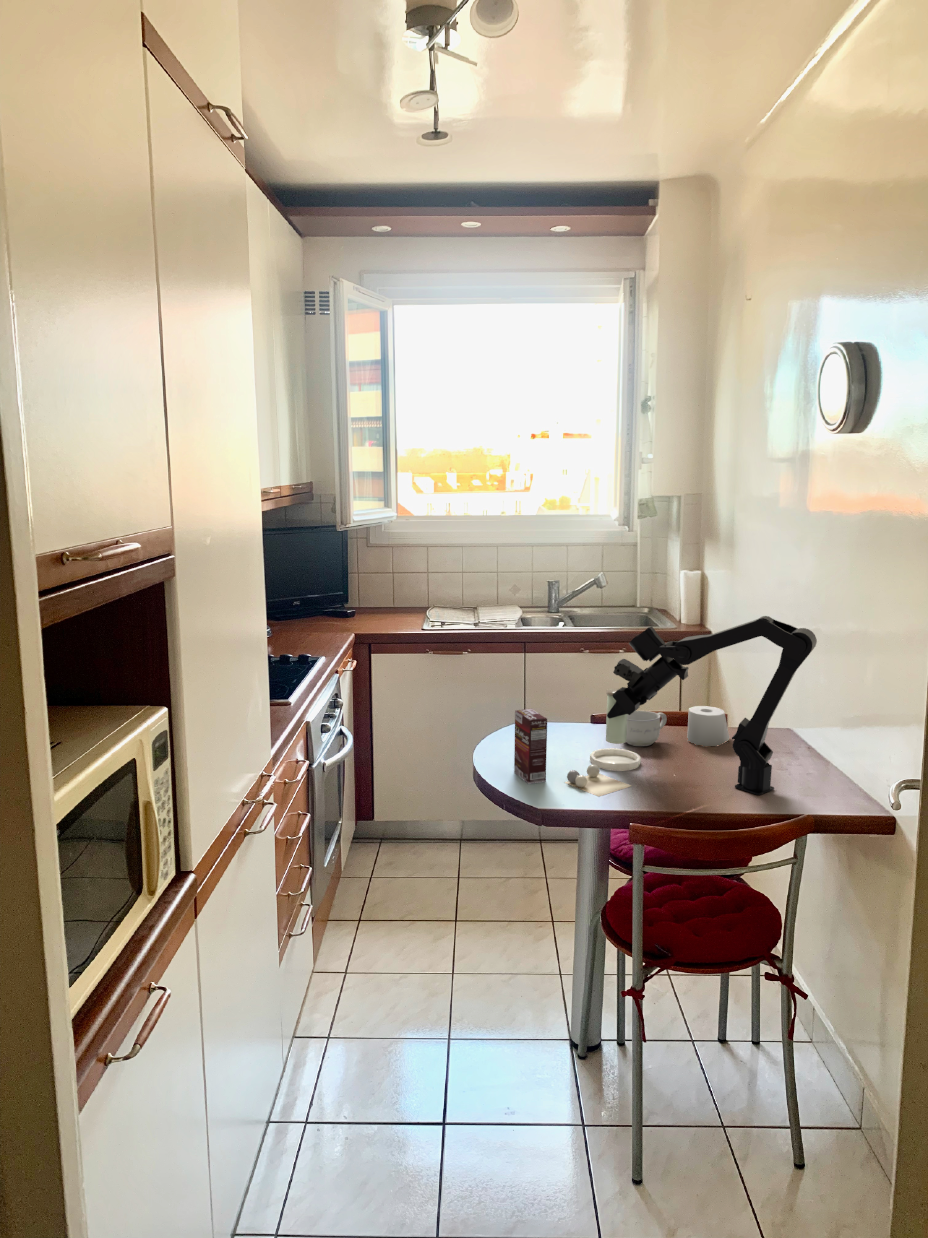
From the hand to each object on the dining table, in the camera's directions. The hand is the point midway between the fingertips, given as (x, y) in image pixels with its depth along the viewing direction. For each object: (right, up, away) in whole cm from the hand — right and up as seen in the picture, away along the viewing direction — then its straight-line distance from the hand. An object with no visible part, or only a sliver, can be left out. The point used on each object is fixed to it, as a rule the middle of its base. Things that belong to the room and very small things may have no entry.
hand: (611, 714), depth 217 cm
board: (-5, -15, -13) cm, 21 cm away
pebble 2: (-10, -15, -15) cm, 24 cm away
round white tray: (+1, -13, +2) cm, 13 cm away
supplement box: (-21, -14, -9) cm, 27 cm away
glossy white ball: (-6, -14, -9) cm, 18 cm away
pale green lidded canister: (+1, -7, 0) cm, 7 cm away
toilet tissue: (+30, -10, +20) cm, 37 cm away
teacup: (+12, -10, +19) cm, 24 cm away
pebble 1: (-11, -15, -13) cm, 22 cm away
